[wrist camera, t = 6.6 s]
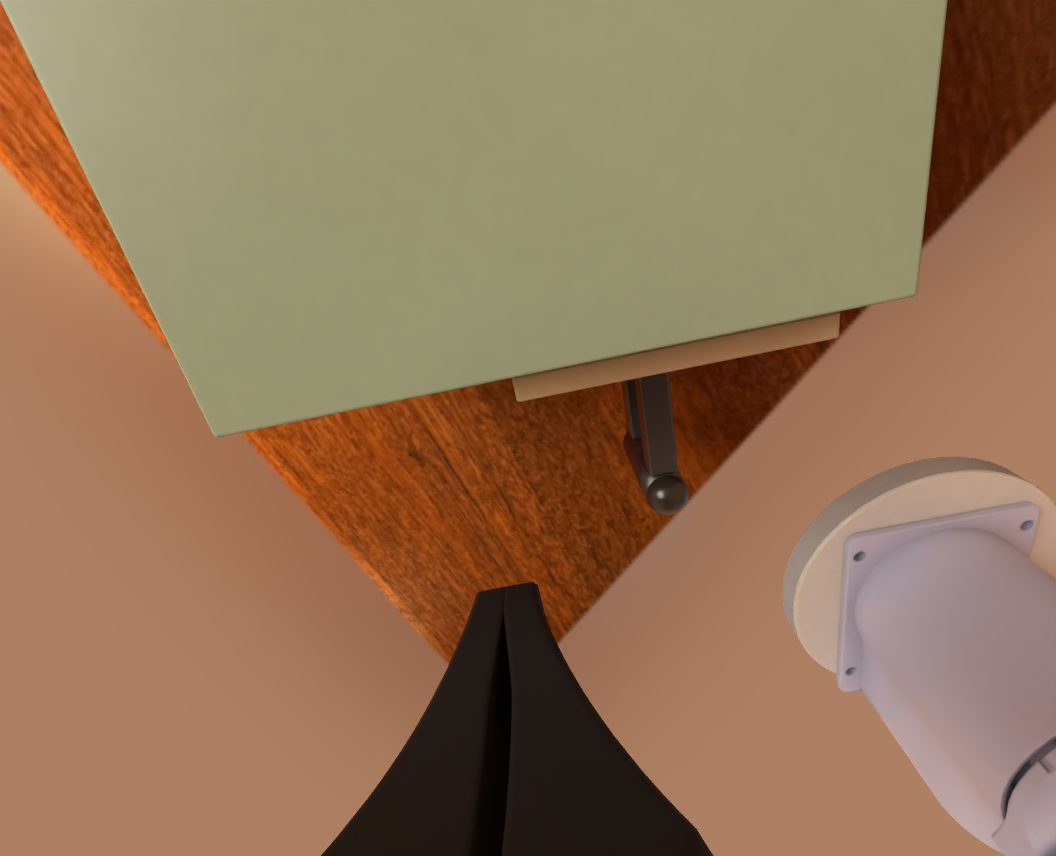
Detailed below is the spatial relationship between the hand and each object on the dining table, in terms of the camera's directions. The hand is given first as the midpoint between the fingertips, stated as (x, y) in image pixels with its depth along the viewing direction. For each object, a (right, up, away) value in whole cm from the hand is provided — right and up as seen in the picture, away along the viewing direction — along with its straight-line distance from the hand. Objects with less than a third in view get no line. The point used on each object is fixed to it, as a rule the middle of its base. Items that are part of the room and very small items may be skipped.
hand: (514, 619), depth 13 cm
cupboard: (-1, +14, +4) cm, 14 cm away
